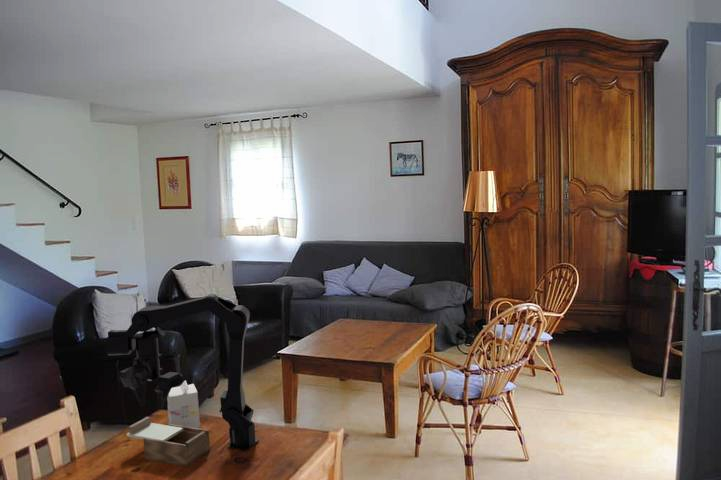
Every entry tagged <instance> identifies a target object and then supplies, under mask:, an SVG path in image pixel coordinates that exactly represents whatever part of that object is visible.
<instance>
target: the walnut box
mask: <svg viewBox="0 0 721 480" xmlns="http://www.w3.org/2000/svg"><path fill="white" fill-rule="evenodd" d="M167 425H168V426H174V427H180V428H183V431H181V432H180V433H178V434H177V435H175V436H173V437H172V438H170V439H169V440H167V441H162V440H156V439H150V438H143V439H142V440H143V449H144V459H145V460H148V461H154V462H157V463H163V464H168V465H174V466H178V467H185V468H188V467H189V466H191V465H192V464H193V463H194V462H196V461H198V460H199V459H201V458H202V457H203V456H204V455H205V454H207V453H208V452H210V451H211V445H210V444H211V443H210V430H209V429H205V428H193V427H186V426H180V425H174V424H169V423H167Z"/></svg>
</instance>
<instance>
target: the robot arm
mask: <svg viewBox="0 0 721 480" xmlns="http://www.w3.org/2000/svg"><path fill="white" fill-rule="evenodd" d="M207 311H208V312H209V313H211V314H212V315H214V316H215V317H217V318H218V319H219V320H220V321H222V322H224V323H225V325H226V332H227V333H226V334H227V337H228V341H229V347H228V349H229V350H228V372H227V373H228V376H227V390H223V392H222V393H221V396H220V399H219V400H220V409H219V413H221V417H222V419H223V420H224V421H226V422H227V423H228V425H229V429H228V432H229V433H228V434H229V435H228V437H229V444H227V448H231V449H236V450H239V451H240V450H241V451H248V450H249V449H251V448H252V447H253V446H254V445H256V444H257V443H258V442H259V438H256V427H255V422H253V421H252V418H253V416H254V412H255V411H254V409H253V408H251V407H250V406H249V405H248V404H247V403H246V398H245V397H246V395H245V392H244V389H243V388H244V387H243V374H244V373H243V372H244V355H245V354H244V352H245V351H244V350H245V338H246V337H245V336H246V333H247V329H248V326H249V321H250V317H251V316H250V315H251V313H250V311H249V309H248V308H247V307H246V306H245V305H242V304H241V305H238V304H235V303H234V302H232V301H229V300H227V299H224V298H222V297H220V296H218V295H217V294H216V293H215V294H214V293H210V294H208V295H205V296H202V297H201V296H200V297H197V298H192V299H189V300H185V301H181V302H177V303H173V304H170V305H150V306H144V307H141V308H140V309H139V310H138V311H136V312H135V313H134V314H132V317H131V324H130V325H129V327H128V328H127V329H120V330H119V329H110V330H109V331H108V332H107V337H106V343H105V345H104V346H105V353H106V355H107V356H122V355H124V356H125V355H131V354H132V352H133V351H136V358H133V361H132V366H130V367H128V368H125V369H123V370H121V371H118V373H117V374H116V375H117V376H116V382H117V383H119V384H122V385H123V387H124V388H129V389H131V390H132V392H133V394H134V395H135V397H136V399H137V402H138V403H139V406H140V407H144V406H145V405H146V404H145V403H146V395H147V384H148V383H147V381H148V382H153V383H156V387H154V388H153V390H154V391H155V392H156V395H157V397H156V398H157V404H158V409H159V410H163V409H164V407H165V404H166V402H167V397H168V394H169V392H170V390H171V388H173V387H178V386H180V385H182V383H183V382H184V378H183V374H182V373H180V372H176V371H175V372H173V371H169V372H167V373H164V368H162V367H161V366H160V359H162V358H163V354H161V353H160V352H159V342H158V341H159V340H158V339H159V338H160V339H161V338H162V337H164V336H165V335H166V332H165V331H164V330H162V329H161V328H160V327H159V326H160V325H162V324H164V323H166V322H169V321H171V320H176V319H181V318H184V317H188V316H192V315H196V314H199V313H200V314H201V313H203V312H207ZM153 328H155V329H154V330H152V329H153ZM141 332H142V333H141ZM163 373H164V374H163ZM161 374H163V375H161Z"/></svg>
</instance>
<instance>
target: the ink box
mask: <svg viewBox="0 0 721 480" xmlns="http://www.w3.org/2000/svg"><path fill="white" fill-rule="evenodd" d="M198 393H199V392H198V390H197V388H196V386H195V384H194V383H191V384H188V383H187V380H183V383H181V384H180V385H178V386H175V387H173V388H171V390H170V392H169V394H168V397H167V399H166V402H167V415H168V418H167V419H168V424H174V425H180V426H186V427H193V428H199V429H201V422H200V409H199V397H198Z"/></svg>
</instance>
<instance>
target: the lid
mask: <svg viewBox="0 0 721 480" xmlns="http://www.w3.org/2000/svg"><path fill="white" fill-rule="evenodd" d="M128 429H129V430H128V431H129V432H127V433H126V437H128V438H132V439H133V438H134V439H138V440H144V439H143V438H150V439H156V440H162V441H167V440H169V439H170V438H172V437H173V436H175V435H177V434H178V433H180V432H181V431H183V428H180V427H174V426H168V425H166V424H162V423H155V422H152V421H151V416H145V417H144V418H142V419H141V420H139V421H136V422H135V423H133V424H131V425H129V426H128Z"/></svg>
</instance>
